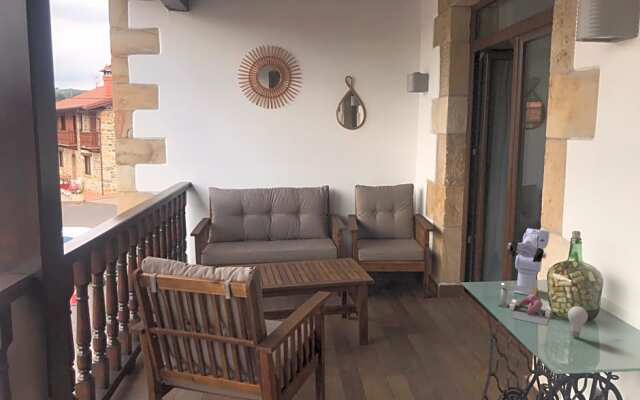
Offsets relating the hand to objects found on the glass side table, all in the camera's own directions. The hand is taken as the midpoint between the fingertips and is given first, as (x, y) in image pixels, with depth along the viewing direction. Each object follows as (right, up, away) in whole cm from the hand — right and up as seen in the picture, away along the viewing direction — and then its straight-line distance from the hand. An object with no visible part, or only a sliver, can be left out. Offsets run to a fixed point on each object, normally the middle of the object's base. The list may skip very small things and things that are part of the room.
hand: (523, 256), depth 200 cm
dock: (+1, -21, +2) cm, 21 cm away
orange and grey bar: (-1, -13, +2) cm, 14 cm away
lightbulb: (+9, -25, -22) cm, 35 cm away
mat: (0, -22, -6) cm, 23 cm away
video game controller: (+3, -21, +1) cm, 21 cm away
